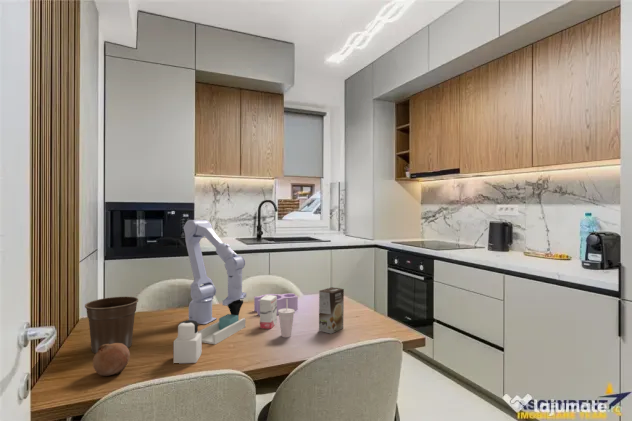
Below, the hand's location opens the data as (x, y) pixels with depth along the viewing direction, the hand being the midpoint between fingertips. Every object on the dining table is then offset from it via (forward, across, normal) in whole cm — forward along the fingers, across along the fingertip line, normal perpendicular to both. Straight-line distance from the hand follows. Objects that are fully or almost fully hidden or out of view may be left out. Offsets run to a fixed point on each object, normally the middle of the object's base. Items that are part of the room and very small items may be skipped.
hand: (234, 318), depth 144 cm
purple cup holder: (+4, +27, -6) cm, 28 cm away
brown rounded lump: (+4, -47, +11) cm, 49 cm away
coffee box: (+4, +11, -38) cm, 40 cm away
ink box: (+4, +6, -12) cm, 14 cm away
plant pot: (+4, -33, +28) cm, 44 cm away
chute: (+3, -8, 0) cm, 9 cm away
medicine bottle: (+4, -31, -3) cm, 32 cm away
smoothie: (+4, -2, -24) cm, 24 cm away
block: (+3, -4, 0) cm, 5 cm away
